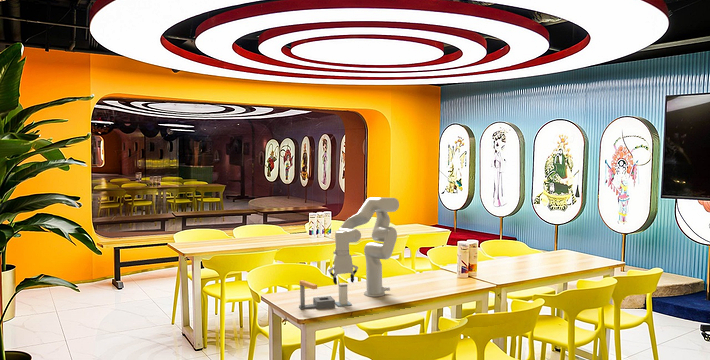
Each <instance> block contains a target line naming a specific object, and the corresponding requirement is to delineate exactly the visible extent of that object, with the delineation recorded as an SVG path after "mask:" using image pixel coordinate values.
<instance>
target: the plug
mask: <svg viewBox="0 0 710 360" xmlns="http://www.w3.org/2000/svg"><path fill="white" fill-rule="evenodd" d="M337 285H338V302H339V303H340V304H348V301H349V299H348V284H347V283H346V282H340V283H339V282H338V283H337Z"/></svg>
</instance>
